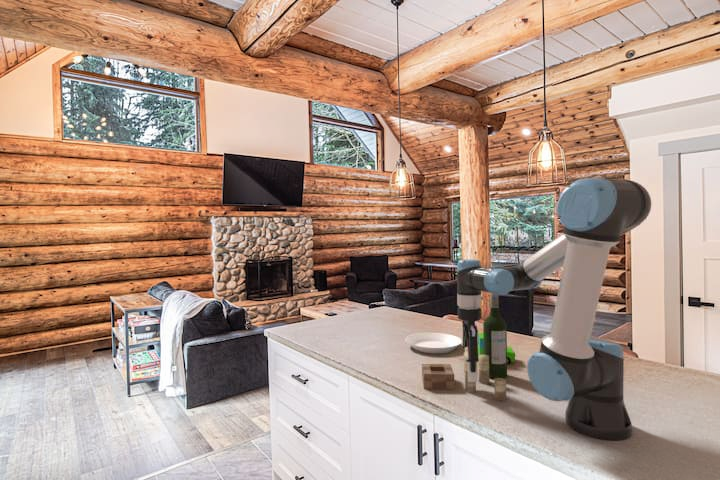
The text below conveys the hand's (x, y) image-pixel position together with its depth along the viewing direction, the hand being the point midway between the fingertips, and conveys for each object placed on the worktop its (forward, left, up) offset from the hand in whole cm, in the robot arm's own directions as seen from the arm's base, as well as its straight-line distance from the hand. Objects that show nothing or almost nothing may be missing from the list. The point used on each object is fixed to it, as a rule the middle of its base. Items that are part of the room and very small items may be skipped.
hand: (470, 376), depth 130 cm
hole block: (+6, +10, -5) cm, 13 cm away
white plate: (+49, +8, -5) cm, 50 cm away
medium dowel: (+8, -6, -5) cm, 11 cm away
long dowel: (0, 0, -5) cm, 5 cm away
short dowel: (-6, -8, -5) cm, 11 cm away
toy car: (+31, -16, -5) cm, 35 cm away
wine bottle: (+14, -11, -5) cm, 19 cm away
